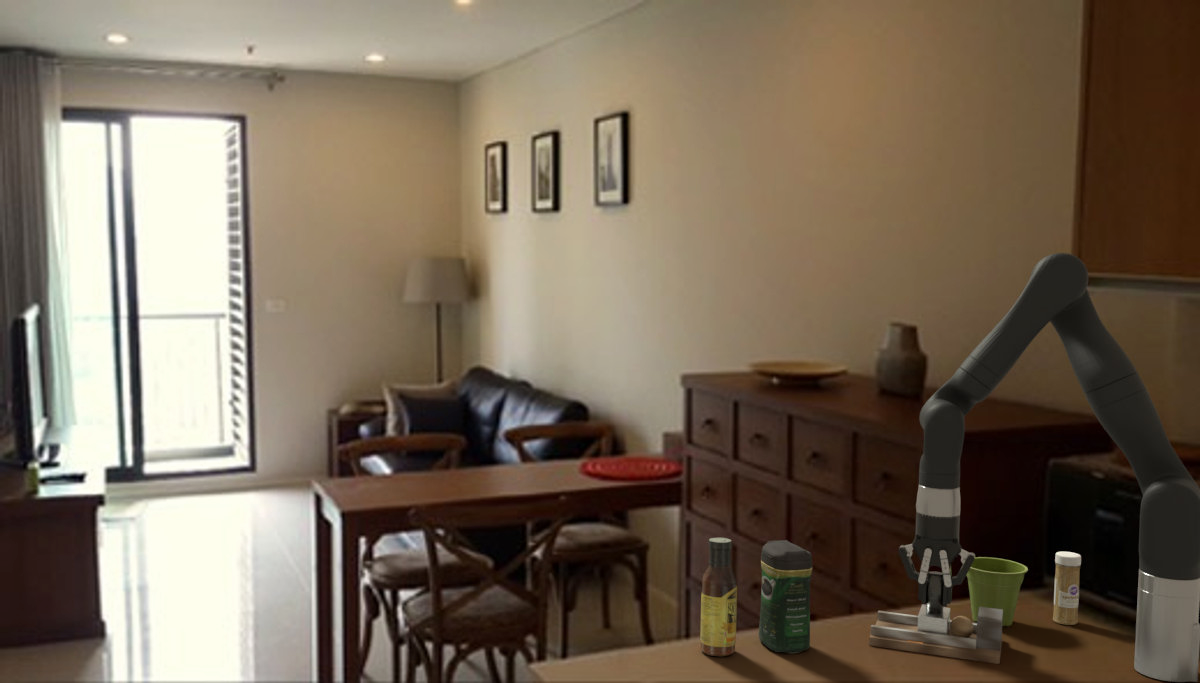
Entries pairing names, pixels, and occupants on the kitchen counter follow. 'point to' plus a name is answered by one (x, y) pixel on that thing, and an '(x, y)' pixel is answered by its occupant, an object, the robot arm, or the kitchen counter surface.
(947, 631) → the sliding jaw
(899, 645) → the board
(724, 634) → the sauce bottle
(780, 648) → the coffee jar
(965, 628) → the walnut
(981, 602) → the plant pot
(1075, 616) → the sprinkles bottle
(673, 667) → the kitchen counter surface
